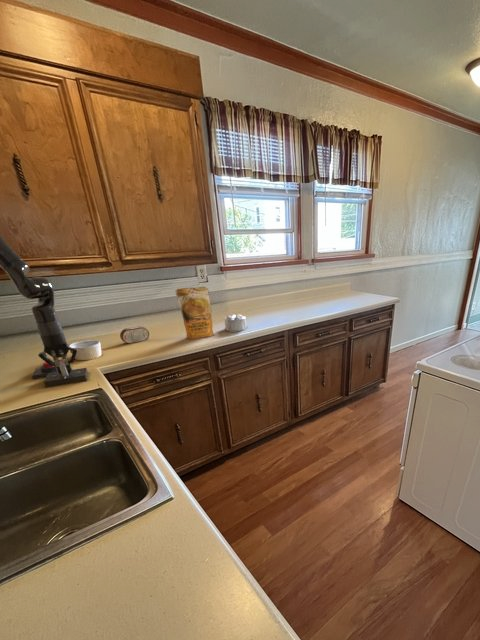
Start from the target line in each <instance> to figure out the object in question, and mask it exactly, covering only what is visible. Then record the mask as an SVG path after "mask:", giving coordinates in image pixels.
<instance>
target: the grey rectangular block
mask: <svg viewBox="0 0 480 640" xmlns="http://www.w3.org/2000/svg"><path fill="white" fill-rule="evenodd" d="M59 363H60V364H59V367H60V370H61V373H62V376H63V377H65V376H68V375H69V374H68V372H67V369H66V366H65V362H64V360H63V359H62V360H59Z"/></svg>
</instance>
